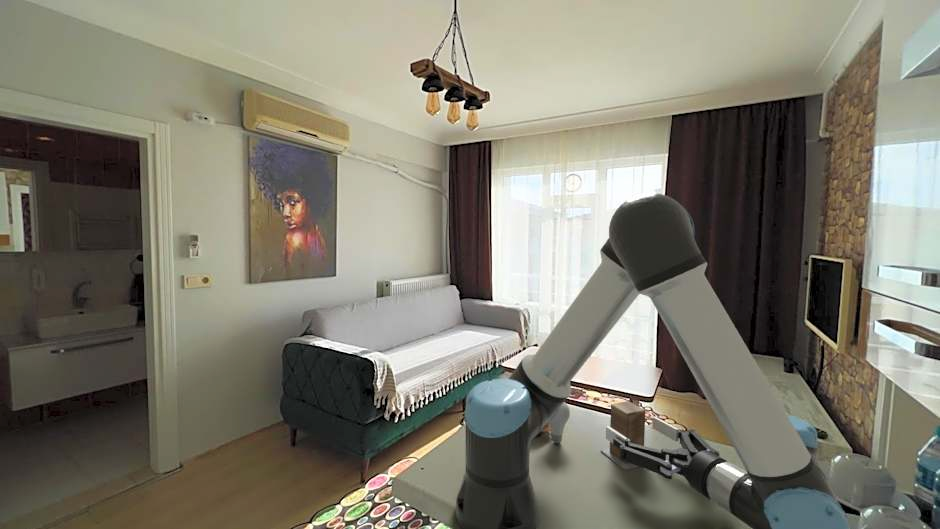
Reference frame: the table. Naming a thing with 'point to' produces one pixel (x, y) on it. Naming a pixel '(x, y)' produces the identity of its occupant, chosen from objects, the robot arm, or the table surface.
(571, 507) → the table surface
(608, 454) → the grey square base plate
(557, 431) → the lightbulb
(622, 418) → the brown wooden block
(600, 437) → the table surface
